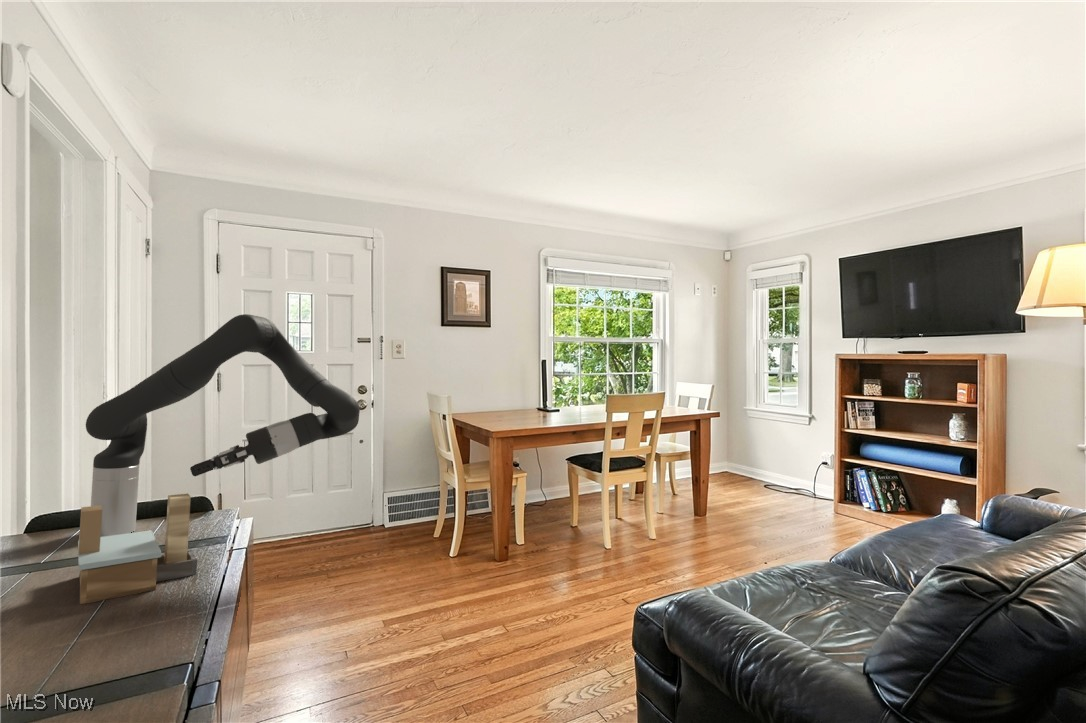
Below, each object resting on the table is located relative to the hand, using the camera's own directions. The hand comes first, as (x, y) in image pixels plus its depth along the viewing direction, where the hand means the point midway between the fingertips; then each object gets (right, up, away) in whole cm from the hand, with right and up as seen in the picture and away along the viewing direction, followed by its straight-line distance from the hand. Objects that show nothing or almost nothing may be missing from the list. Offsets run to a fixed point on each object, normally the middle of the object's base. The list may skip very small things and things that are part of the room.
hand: (192, 471), depth 111 cm
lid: (-10, -14, -8) cm, 19 cm away
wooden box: (-7, -21, -6) cm, 23 cm away
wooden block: (-3, -21, -2) cm, 21 cm away
